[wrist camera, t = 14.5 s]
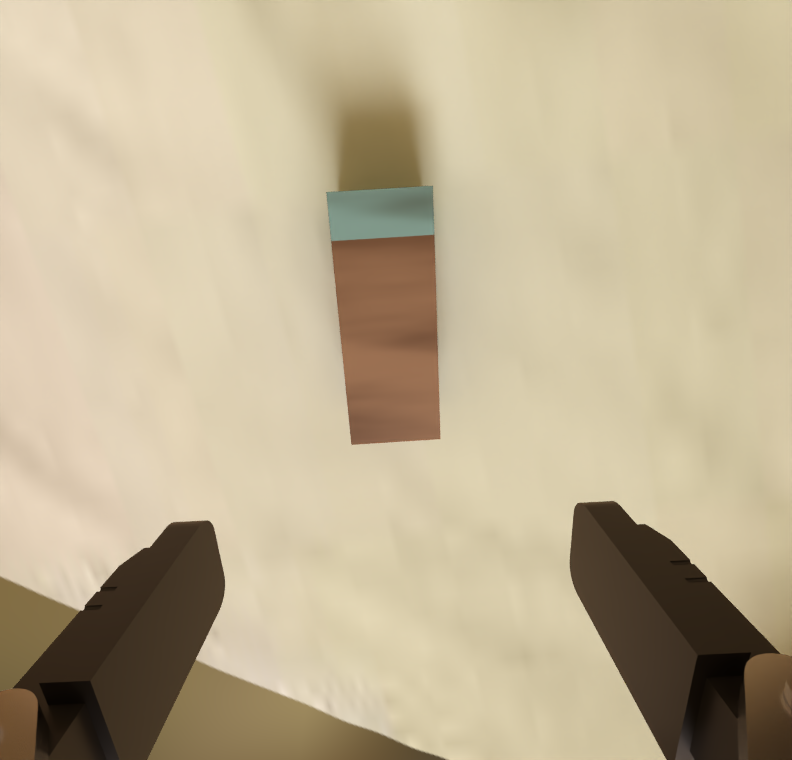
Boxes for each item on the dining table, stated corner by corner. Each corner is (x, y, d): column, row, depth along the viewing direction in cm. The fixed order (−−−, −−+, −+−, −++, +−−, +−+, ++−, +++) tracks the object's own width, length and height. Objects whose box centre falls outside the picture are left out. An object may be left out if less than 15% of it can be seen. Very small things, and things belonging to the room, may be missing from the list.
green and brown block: (357, 411, 26) (338, 204, 22) (430, 407, 26) (423, 198, 22) (351, 444, 21) (326, 192, 18) (440, 439, 21) (432, 185, 18)
